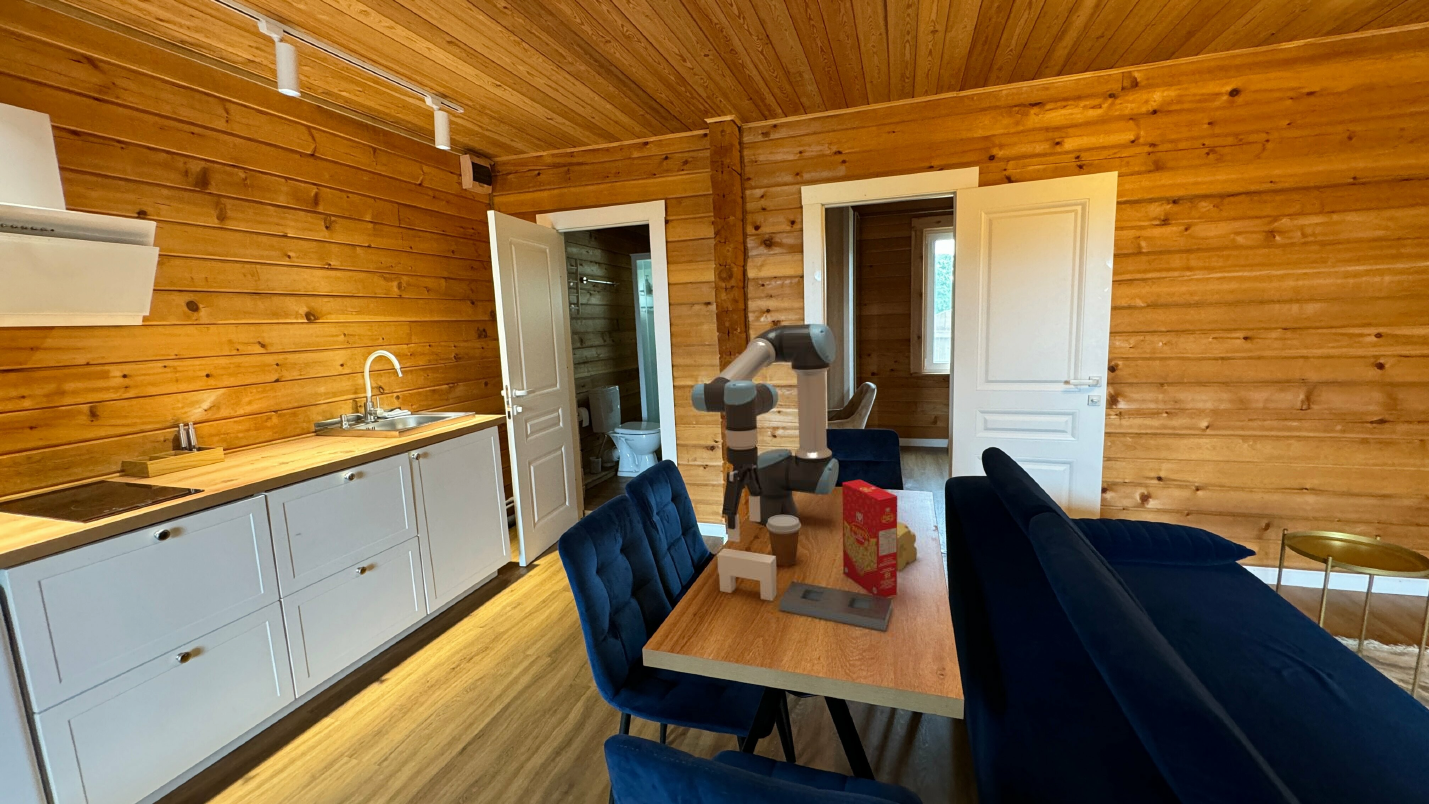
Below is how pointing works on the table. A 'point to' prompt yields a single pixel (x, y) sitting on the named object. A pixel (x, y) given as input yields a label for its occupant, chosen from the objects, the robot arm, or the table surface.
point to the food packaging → (870, 537)
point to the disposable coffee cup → (784, 538)
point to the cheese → (905, 546)
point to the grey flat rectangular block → (837, 605)
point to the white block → (747, 570)
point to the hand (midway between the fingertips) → (744, 530)
